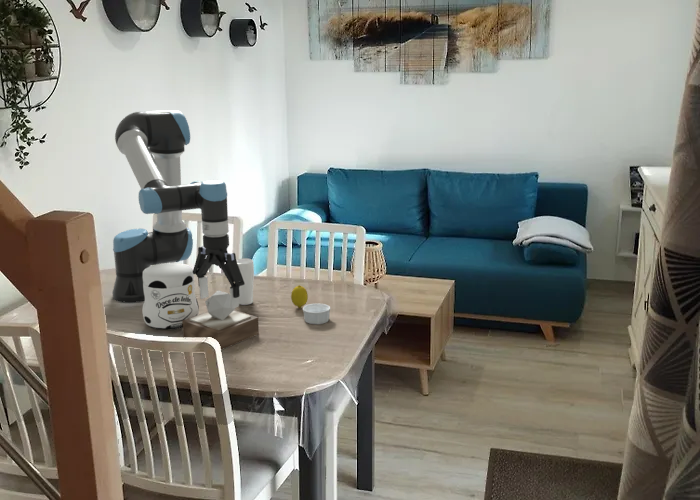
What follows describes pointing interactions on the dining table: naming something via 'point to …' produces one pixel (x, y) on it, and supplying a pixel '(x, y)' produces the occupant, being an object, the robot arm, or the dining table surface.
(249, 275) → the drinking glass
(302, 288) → the lemon
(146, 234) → the robot arm
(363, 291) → the dining table surface
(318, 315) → the ramekin
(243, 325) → the plinth
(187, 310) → the milk container
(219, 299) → the die
